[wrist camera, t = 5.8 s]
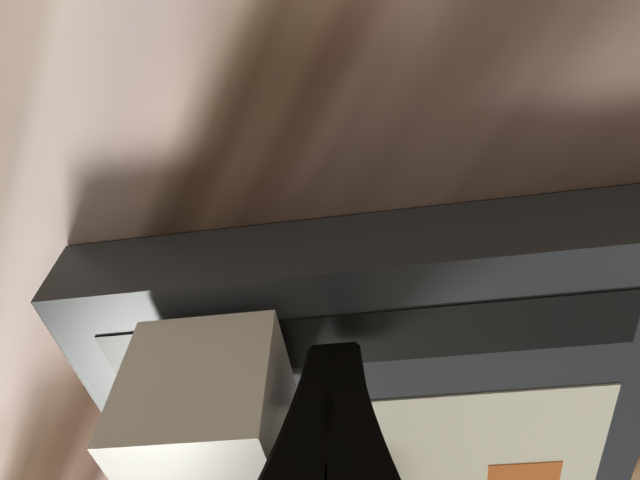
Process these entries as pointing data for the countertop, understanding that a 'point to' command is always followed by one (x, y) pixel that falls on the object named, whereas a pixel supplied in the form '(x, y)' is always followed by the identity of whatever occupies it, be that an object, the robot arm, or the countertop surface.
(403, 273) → the switch panel
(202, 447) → the tab
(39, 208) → the countertop surface
